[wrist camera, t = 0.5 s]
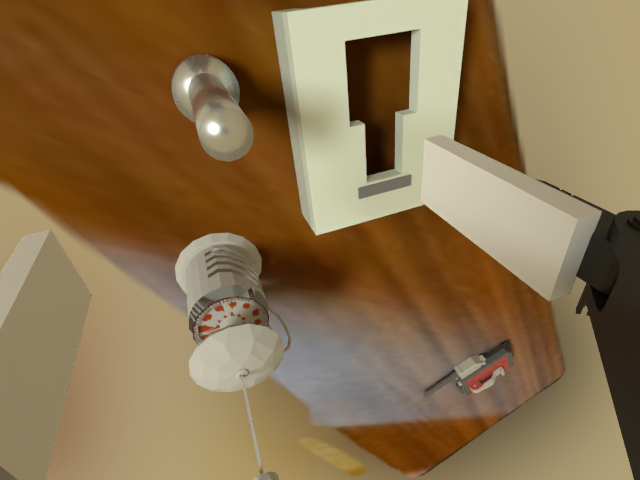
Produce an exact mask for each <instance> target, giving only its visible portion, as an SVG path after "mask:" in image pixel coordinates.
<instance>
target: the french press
mask: <svg viewBox="0 0 640 480" xmlns="http://www.w3.org/2000/svg"><path fill="white" fill-rule="evenodd" d="M261 263H262V258H261V256H260V254H259V252H258V250H257V248H256V246H255V245H254V244H252V243H251V242H250V241H248V240H247V239H246V238H245V237H242V236H238V235H235V234H231V233H216V234H209V235H206V236H204V237H202V238H199V239H197V240H195V241H193V242H192V243H191V244H190V245H188V246H187V247H186V248H185V249H184V250H183V251H182V252H181V253H180V256H179V258H178V261H177V263H176V266H175V272H176V281H177V282H178V284H179V285H180V287H181V288H182V289H183V291H184V292H185V293H186V294H187V305H188V317H189V329H190V330H191V331H192V333H193V339H194V340H195V341H196V343H197V344H198V346H197V347H196V349H195V351H194V353H193V355H192V357H191V359H190V361H189V370H190V376H191V377H192V378H193V379H194V380H195V382H196V383H197V384H198V385H199V386H202V387H204V388H206V389H209V390H211V391H221V392H222V391H223V392H233V391H238V390H242V389H243V391H244V396H245V401H246V406H247V411H248V416H249V421H250V426H251V431H252V436H253V441H254V446H255V451H256V456H257V461H258V466H259V471H260V475H258V476H256V477H255V478H254V479H252V480H279V479H278V475H277V474H276V473H275V472H266V473H263V469H262V465H261V460H260V455H259V450H258V445H257V440H256V436H255V431H254V426H253V421H252V416H251V411H250V406H249V402H248V397H247V392H246V388H249V387H252V386H255V385H256V384H258V383H260V382H262V381H264V380H265V379H266V378H267V377H268V376H270V375H271V374H272V373H273V372H274V371H275V370H276V369H277V367H278V366H279V364H280V362H281V361H282V359H283V353H284V352H286V351H287V350H288V349H289V348H290V344H291V337H290V334H289V332H288V329H287V326H286V325H285V323H284V322H283V321H282V319H281V318H280V316H279V315H278V314H277V313H276V312H275V311H274V310H273V309H272V308H270V307H269V306H268V303H267V300H266V297H265V294H264V291H263V288H262V285H261V283H260V280H259V275H260V273H261ZM251 287H252V290H253V293H254V296H255V299H256V301H255V300H254V299H251V298H250V297H249V293H248V290H249V289H250V288H251ZM196 302H198V303H199V304H200V305H201V306H202V307H203V308H205V309H204V310H202V309H201V308H200V307H199V306H198V305H197V304H196ZM193 306H195V307H196V308H197V309H198V310H199V311H200V312H201V313H200V314H199V313H198V312H197V311H196V310H195V308H194V307H193ZM268 309H269V310H270V311H271V312H272V313H273V314H275V315H276V316H277V318H278V319H279V320H280V321H281V323H282V324H283V326H284V328H285V330H286V333H287V335H288V337H289V338H288V346H287V347H286V348H285V349H284V344H283V342H282V340H281V338H280V336H279V334H278V333H276V332H274V331H273V330H272V328H271V327H270V325H269V315H268ZM191 310H193V311H194V313H195V314H196V315H197V318H196V317H195V315H194V314H193V313H192V311H191ZM190 313H191V315H192V317H193V318H194V320H195V323H194V321H193V320H192V318H191V316H190ZM268 327H269V328H268Z"/></svg>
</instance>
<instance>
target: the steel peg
mask: <svg viewBox="0 0 640 480" xmlns="http://www.w3.org/2000/svg"><path fill="white" fill-rule="evenodd" d="M171 87H172V95H173V99H174V101H175V104H176V106H177V107H178V109H179V110H180V112H181V113H182V114H183V115H184V116H185V117H187V118H188V119H189V120H191V121H193V122H195V123H196V127H197V131H198V135H199V139H200V142H201V145H202V147H203V148H204V150H205V151H206V152H207V153H208V154H209V155H210V156H212V157H213V158H215V159H218V160H221V161H234V160H237V159H239V158H241V157H243V156H244V155H245V154H246V153H247V152H248V151H249V150H250V148H251V146H252V143H253V139H254V131H253V127H252V124H251V122H250V121H249V119H248V118H247V116H246V115H245V114H244V112H243V111H242V110H241V108H240V107H239V106H238V104H239V99H240V89H239V84H238V81H237V79H236V77H235V75H234V73H233V72H232V71H231V69H230V68H229V67H228V66H227V65H226V64H225V63H223V62H222V61H221V60H220V59H218V58H216V57H214V56H212V55H208V54H193V55H190V56H187V57H186V58H184V59H183V60H181V61H180V62H179V63H178V65H177V66H176V68H175V70H174V72H173V75H172V80H171Z"/></svg>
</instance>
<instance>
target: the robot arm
mask: <svg viewBox="0 0 640 480" xmlns="http://www.w3.org/2000/svg"><path fill="white" fill-rule="evenodd" d="M421 202H422V203H424V204H425V205H426V206H427V207H429V208H430V209H431V210H432V211H434V212H435V213H436V214H438V215H439V216H440V217H441V218H443V219H444V220H445V221H447V222H448V223H449V224H450V225H452V226H453V227H454V228H456V229H457V230H458V231H459V232H461V233H462V234H463V235H465V236H466V237H467V238H468V239H470V240H471V241H472V242H474V243H475V244H476V245H477V246H479V247H480V248H481V249H483V250H484V251H485V252H486V253H488V254H489V255H490V256H492V257H493V258H494V259H495V260H497V261H498V262H499V263H501V264H502V265H503V266H504V267H506V268H507V269H508V270H509V271H511V272H512V273H513V274H515V275H516V276H517V277H518V278H520V279H521V280H522V281H524V282H525V283H526V284H527V285H529V286H530V287H531V288H533V289H534V290H535V291H536V292H538V293H539V294H540V295H542V296H543V297H544V298H545V299H547V300H548V301H551V300H554V299H556V298H559V297H561V296H564V295H567V294H569V293H570V292H571V290H572V287H573V284H574V282H575V280H576V277H579V278H580V279H582V280H583V281H585V282H586V286H585V288H584V291H583V293H582V295H581V298H580V300H579V303H578V305H577V307H576V314H580V313H581V311H582V309H583V307H585V306H587V308H588V312H587V315H588V316H590V319H591V323H592V327H593V330H594V334H595V338H596V341H597V345H598V348H599V352H600V356H601V360H602V363H603V367H604V370H605V374H606V378H607V382H608V385H609V389H610V392H611V396H612V400H613V403H614V407H615V411H616V415H617V418H618V422H619V426H620V429H621V433H622V437H623V440H624V444H625V448H626V451H627V455H628V459H629V462H630V466H631V470H632V473H633V477H634V480H640V211H624V212H620V213H618V214H617V215H615V214H613V213H611V212H608V211H606V210H604V209H602V208H600V207H598V206H596V205H594V204H591V203H589V202H587V201H585V200H583V199H581V198H579V197H577V196H575V195H574V196H572V195H571V194H570V193H568V192H566V191H564V190H560V189H559V188H558V187H556V186H553V185H551V184H549V183H547V182H545V181H540V180H537V179H534V178H531V177H529V176H527V175H525V174H523V173H521V172H519V171H517V170H515V169H513V168H511V167H508V166H506V165H504V164H502V163H500V162H498V161H496V160H494V159H492V158H490V157H488V156H485V155H483V154H481V153H479V152H477V151H475V150H473V149H471V148H469V147H467V146H465V145H462V144H460V143H458V142H456V141H454V140H452V139H450V138H448V137H446V136H444V135H438V136H434V137H430V138H426V139H425V140H424V156H423V173H422V189H421ZM91 296H92V294H91V293H90V291H89V289H88V288H87V286H86V285H85V283H84V282H83V280H82V278H81V277H80V275H79V274H78V272H77V271H76V269H75V267H74V266H73V264H72V263H71V261H70V259H69V258H68V256H67V254H66V253H65V251H64V250H63V248H62V247H61V245H60V244H59V242H58V240H57V239H56V237H55V235H54V234H53V232H52V231H51V230H46V231H41V232H38V233H34V234H29V235H25V236H23V237H22V239H21V240H20V241H19V243H18V245H17V246H16V248H15V250H14V251H13V253H12V255H11V256H10V258H9V260H8V261H7V263H6V264H5V266H4V268H3V269H2V271H1V273H0V480H45V478H46V475H47V471H48V467H49V463H50V459H51V455H52V451H53V447H54V443H55V439H56V435H57V431H58V427H59V423H60V419H61V415H62V411H63V407H64V403H65V400H66V395H67V391H68V387H69V383H70V379H71V376H72V372H73V368H74V363H75V360H76V356H77V352H78V348H79V344H80V340H81V336H82V332H83V328H84V324H85V320H86V316H87V312H88V308H89V304H90V300H91Z"/></svg>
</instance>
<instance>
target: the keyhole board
mask: <svg viewBox="0 0 640 480" xmlns="http://www.w3.org/2000/svg"><path fill="white" fill-rule="evenodd" d="M467 7H468V0H365V1H358V2H351V3H343V4H336V5H329V6H322V7H314V8H307V9H287V10H279V11H272V19H273V26H274V32H275V39H276V45H277V52H278V58H279V65H280V72H281V78H282V85H283V91H284V98H285V105H286V111H287V118H288V124H289V131H290V137H291V144H292V151H293V157H294V164H295V170H296V177H297V183H298V190H299V197H300V203H301V210H302V215H303V216H304V218H305V219H306V221H307V222H308V224H309V225H310V227H311V228H312V230H313V231H314V233H315V234H316V235H319V234H323V233H326V232H330V231H333V230H337V229H341V228H344V227H348V226H351V225H355V224H358V223H362V222H365V221H369V220H372V219H376V218H379V217H383V216H386V215H390V214H393V213H397V212H400V211H404V210H407V209H411V208H414V207H418V206H421V205H425V204H424V203H422V202H421V189H422V173H423V156H424V140H425V139H426V138H430V137H434V136H438V135H444V136H446V137H448V138H450V139H452V140H454V132H455V122H456V112H457V103H458V93H459V84H460V74H461V65H462V55H463V46H464V36H465V27H466V17H467ZM410 30H412V31H411V62H410V92H409V109H407V110H402V111H398V112H395V169H392V170H388V171H384V172H380V173H376V174H373V175H369V176H367V172H366V143H365V124H364V123H362V122H361V121H359V120H356V121H351V122H350V120H349V103H348V86H347V68H346V51H345V41H348V40H355V39H361V38H367V37H373V36H379V35H385V34H392V33H398V32H404V31H410Z"/></svg>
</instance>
